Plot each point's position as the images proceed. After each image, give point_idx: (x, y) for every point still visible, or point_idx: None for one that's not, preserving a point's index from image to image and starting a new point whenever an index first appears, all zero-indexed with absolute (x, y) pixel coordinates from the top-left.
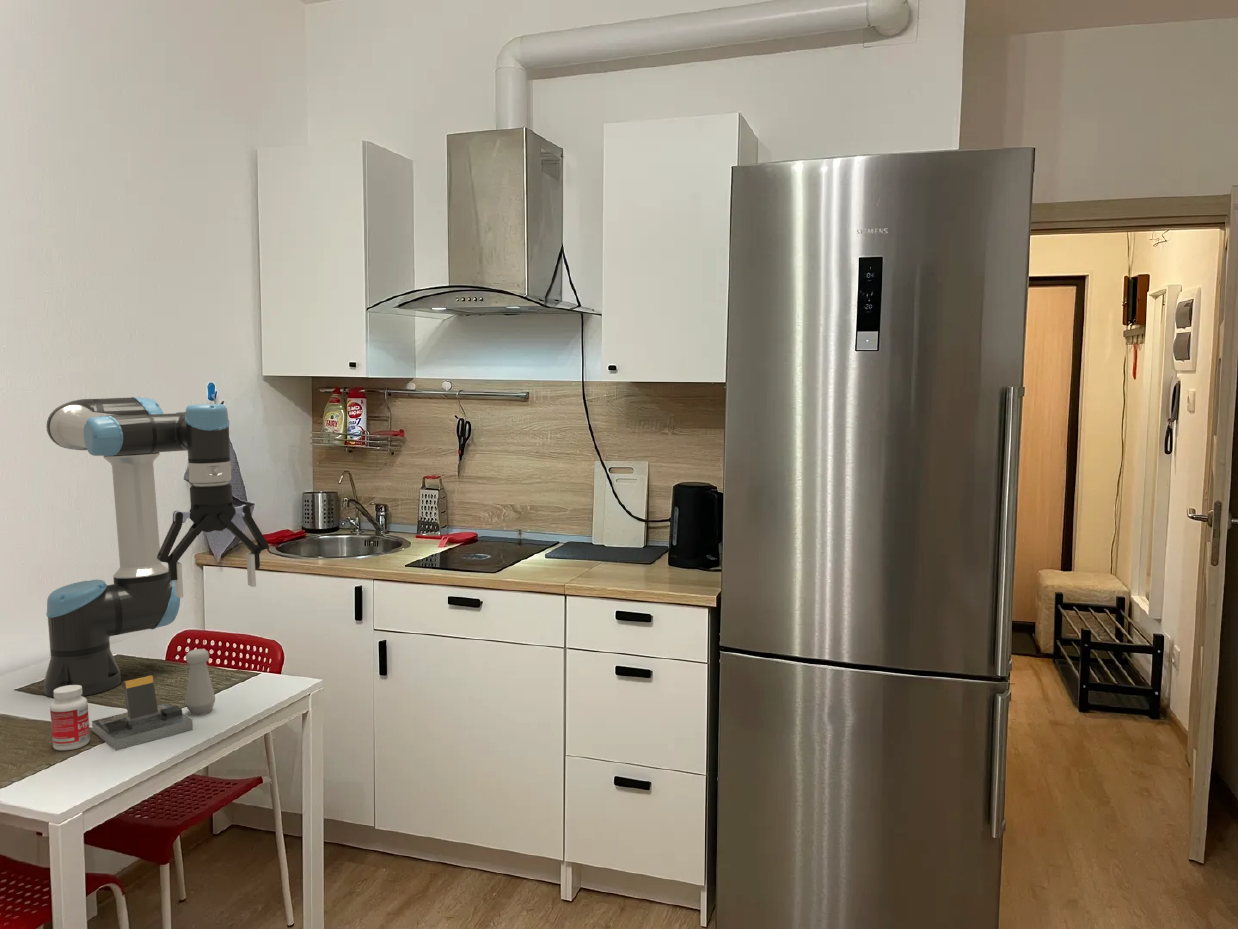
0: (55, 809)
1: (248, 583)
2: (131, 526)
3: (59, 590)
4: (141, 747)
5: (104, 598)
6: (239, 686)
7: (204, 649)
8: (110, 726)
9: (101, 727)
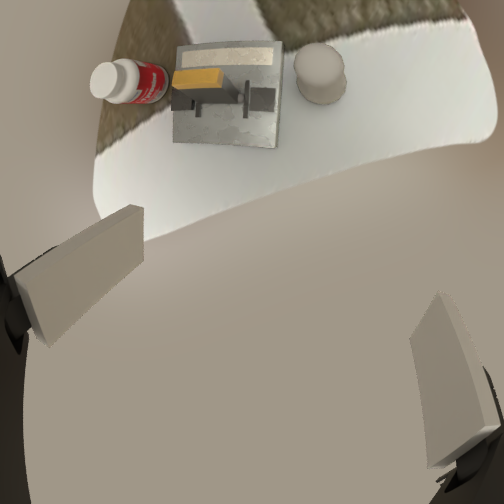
0: None
1: (434, 303)
2: None
3: None
4: (203, 155)
5: None
6: (420, 34)
7: (338, 63)
8: (174, 105)
9: None
